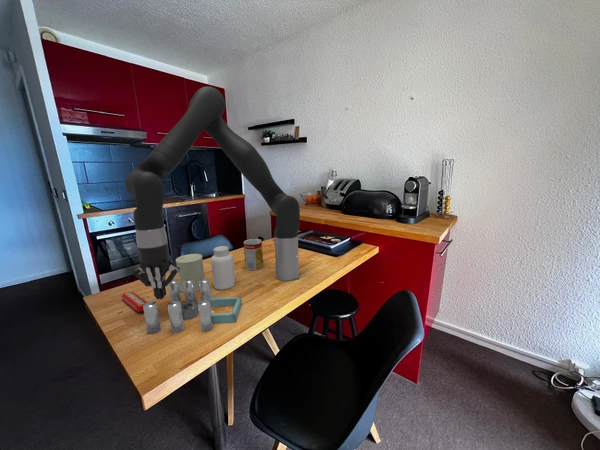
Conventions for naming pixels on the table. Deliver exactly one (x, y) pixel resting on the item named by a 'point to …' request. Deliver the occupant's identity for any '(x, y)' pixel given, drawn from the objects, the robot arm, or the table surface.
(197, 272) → the can
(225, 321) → the corral
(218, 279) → the pill bottle
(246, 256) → the canned food
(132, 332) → the table surface
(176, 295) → the spacers
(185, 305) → the nut
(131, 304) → the candy bar
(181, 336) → the table surface
